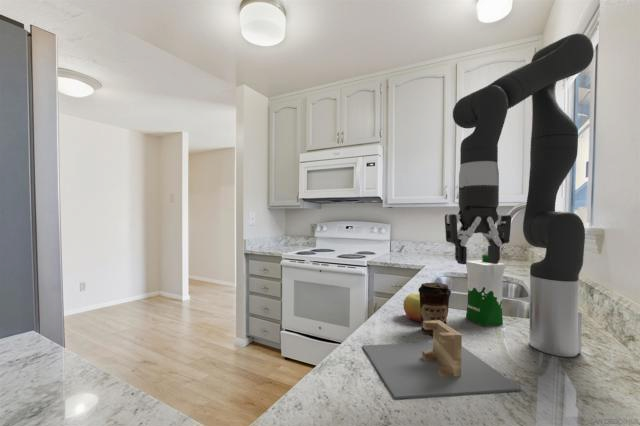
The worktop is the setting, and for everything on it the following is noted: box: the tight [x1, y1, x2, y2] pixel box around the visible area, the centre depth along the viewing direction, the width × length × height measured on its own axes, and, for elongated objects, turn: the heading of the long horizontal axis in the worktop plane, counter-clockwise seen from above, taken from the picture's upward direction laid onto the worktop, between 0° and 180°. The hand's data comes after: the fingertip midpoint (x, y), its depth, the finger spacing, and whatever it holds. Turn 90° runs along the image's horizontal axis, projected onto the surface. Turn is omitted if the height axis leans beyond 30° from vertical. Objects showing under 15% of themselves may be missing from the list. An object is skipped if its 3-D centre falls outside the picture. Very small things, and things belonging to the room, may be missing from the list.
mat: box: [362, 342, 522, 400], centre depth 62 cm, size 24×20×1 cm
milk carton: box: [465, 254, 506, 327], centre depth 90 cm, size 9×9×20 cm
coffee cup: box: [418, 282, 452, 336], centre depth 80 cm, size 9×8×13 cm
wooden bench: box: [422, 320, 463, 377], centre depth 61 cm, size 4×8×8 cm, turn 8°
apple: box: [403, 293, 421, 323], centre depth 90 cm, size 10×10×8 cm
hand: (477, 263), depth 62 cm, fingers open, 6 cm apart
